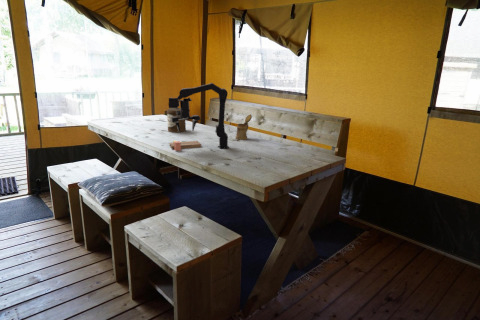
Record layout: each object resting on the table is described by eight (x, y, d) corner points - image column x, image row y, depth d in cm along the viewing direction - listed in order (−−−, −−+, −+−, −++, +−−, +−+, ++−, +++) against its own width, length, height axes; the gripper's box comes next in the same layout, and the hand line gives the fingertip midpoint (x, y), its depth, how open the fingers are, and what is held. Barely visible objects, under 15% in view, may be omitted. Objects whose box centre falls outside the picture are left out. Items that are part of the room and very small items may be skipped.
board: (201, 146, 230) (201, 143, 230) (172, 149, 223) (172, 146, 223) (197, 143, 239) (197, 140, 239) (169, 145, 232) (169, 142, 232)
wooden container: (164, 130, 282) (163, 104, 276) (179, 128, 292) (178, 102, 285) (173, 133, 272) (172, 106, 265) (189, 131, 281) (188, 104, 275)
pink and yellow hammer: (180, 150, 221) (180, 142, 219) (175, 150, 219) (175, 142, 218) (177, 145, 232) (176, 138, 231) (171, 146, 231) (171, 138, 229)
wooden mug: (254, 138, 258) (254, 115, 253) (240, 140, 250) (240, 116, 245) (247, 136, 265) (247, 113, 260) (233, 138, 257) (233, 115, 252)
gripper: (195, 105, 230) (196, 128, 234) (168, 107, 223) (169, 130, 228) (199, 107, 220) (200, 131, 225) (171, 109, 213) (173, 133, 218)
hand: (186, 131), depth 224 cm, fingers open, 9 cm apart
